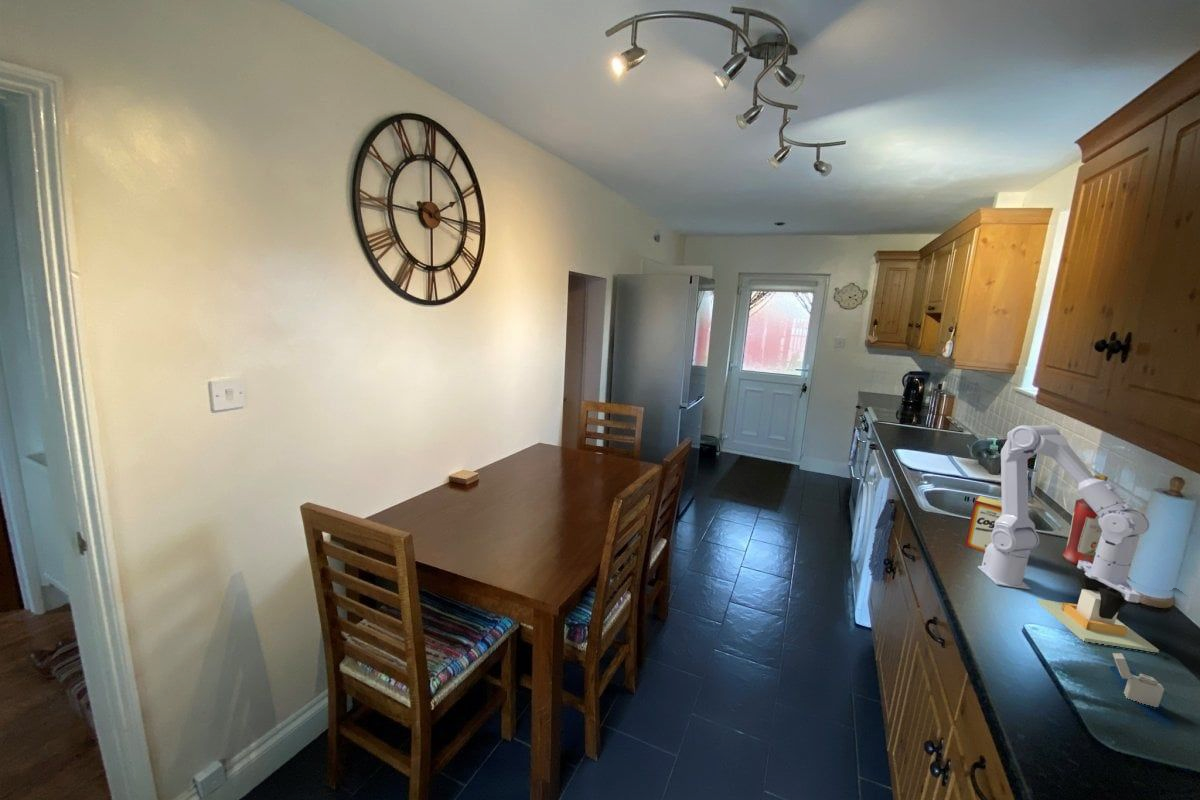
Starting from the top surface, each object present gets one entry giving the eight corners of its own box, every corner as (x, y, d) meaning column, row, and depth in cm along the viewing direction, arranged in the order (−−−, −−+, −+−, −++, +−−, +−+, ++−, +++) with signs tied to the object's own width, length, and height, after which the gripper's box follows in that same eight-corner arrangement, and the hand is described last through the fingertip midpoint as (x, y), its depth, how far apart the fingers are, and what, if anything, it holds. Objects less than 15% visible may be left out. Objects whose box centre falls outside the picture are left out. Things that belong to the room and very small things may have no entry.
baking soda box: (964, 546, 150) (975, 499, 147) (968, 540, 154) (979, 494, 151) (1002, 558, 143) (1014, 509, 140) (1005, 552, 147) (1017, 504, 144)
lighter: (1154, 703, 89) (1166, 666, 88) (1158, 709, 88) (1170, 672, 86) (1101, 685, 93) (1112, 650, 92) (1104, 691, 92) (1115, 655, 90)
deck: (1037, 602, 121) (1040, 591, 120) (1101, 612, 118) (1104, 601, 118) (1083, 641, 106) (1087, 630, 106) (1157, 653, 104) (1161, 642, 103)
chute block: (1075, 611, 114) (1082, 589, 113) (1099, 615, 113) (1106, 592, 112) (1088, 621, 110) (1095, 598, 109) (1113, 625, 109) (1121, 602, 108)
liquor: (1076, 556, 147) (1099, 472, 142) (1101, 569, 140) (1127, 480, 135) (1053, 555, 147) (1076, 470, 141) (1077, 568, 140) (1102, 479, 134)
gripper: (1069, 542, 117) (1055, 591, 119) (1119, 573, 103) (1103, 628, 105) (1102, 546, 115) (1088, 596, 118) (1158, 578, 101) (1140, 634, 104)
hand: (1097, 611), depth 111 cm, fingers closed on chute block, 4 cm apart
